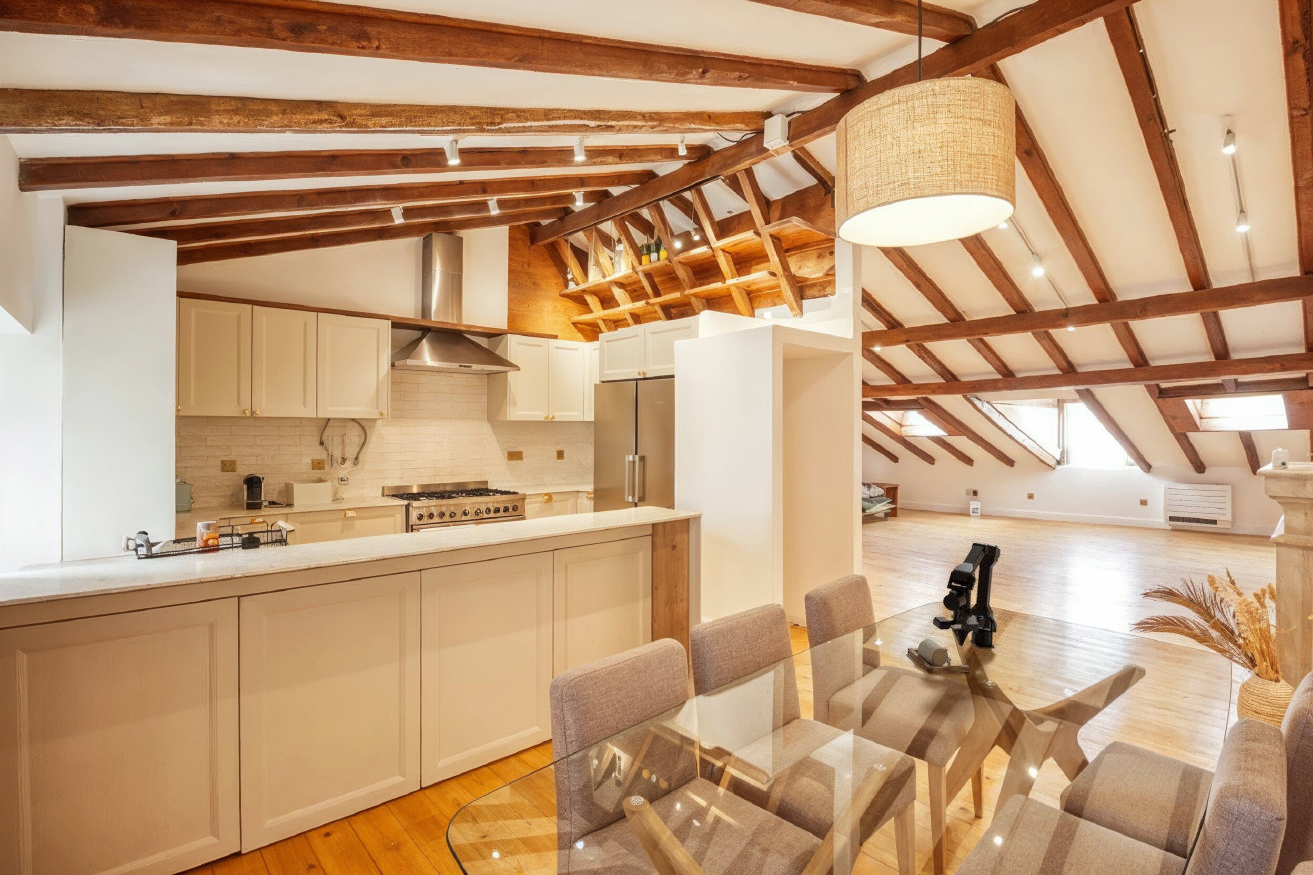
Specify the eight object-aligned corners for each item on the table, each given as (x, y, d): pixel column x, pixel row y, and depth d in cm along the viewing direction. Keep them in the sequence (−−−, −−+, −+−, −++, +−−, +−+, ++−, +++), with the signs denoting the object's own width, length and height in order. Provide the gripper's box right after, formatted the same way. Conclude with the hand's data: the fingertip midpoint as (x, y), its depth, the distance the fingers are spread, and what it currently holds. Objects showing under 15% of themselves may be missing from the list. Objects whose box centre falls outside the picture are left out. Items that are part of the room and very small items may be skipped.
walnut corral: (945, 652, 240) (945, 647, 240) (969, 672, 223) (969, 666, 223) (907, 653, 239) (907, 648, 239) (928, 673, 222) (928, 667, 222)
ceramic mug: (932, 668, 226) (933, 648, 225) (916, 659, 234) (917, 639, 233) (956, 665, 229) (957, 644, 228) (940, 656, 237) (941, 636, 236)
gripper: (947, 612, 221) (946, 655, 222) (1000, 610, 222) (998, 653, 223) (932, 601, 232) (931, 642, 234) (982, 600, 233) (981, 641, 234)
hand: (960, 645), depth 231 cm, fingers closed
